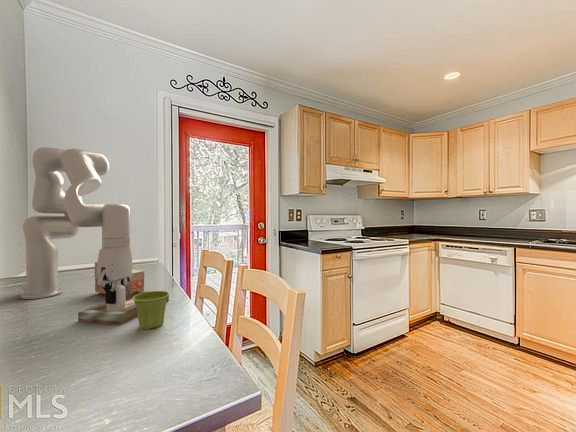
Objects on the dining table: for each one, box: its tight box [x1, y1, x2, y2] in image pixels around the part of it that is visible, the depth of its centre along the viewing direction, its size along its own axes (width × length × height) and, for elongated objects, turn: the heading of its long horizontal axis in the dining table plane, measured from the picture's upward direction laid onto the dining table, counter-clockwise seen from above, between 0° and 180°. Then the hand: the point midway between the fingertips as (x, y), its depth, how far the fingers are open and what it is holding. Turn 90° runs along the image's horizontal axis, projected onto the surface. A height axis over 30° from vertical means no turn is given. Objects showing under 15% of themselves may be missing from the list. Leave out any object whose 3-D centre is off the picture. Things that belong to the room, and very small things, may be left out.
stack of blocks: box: [94, 261, 145, 295], centre depth 110 cm, size 21×6×12 cm, turn 65°
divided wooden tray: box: [77, 290, 170, 326], centre depth 93 cm, size 14×24×3 cm, turn 171°
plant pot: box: [133, 290, 170, 330], centre depth 80 cm, size 9×9×9 cm
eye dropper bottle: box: [107, 279, 126, 312], centre depth 88 cm, size 4×6×12 cm
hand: (115, 301), depth 88 cm, fingers closed on eye dropper bottle, 3 cm apart
